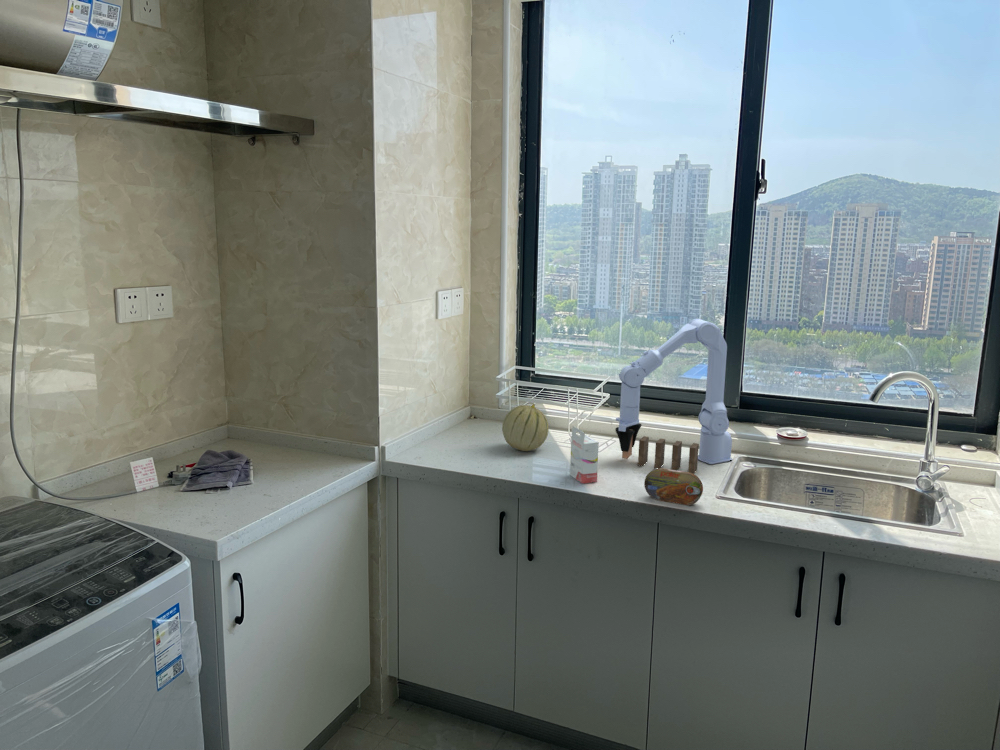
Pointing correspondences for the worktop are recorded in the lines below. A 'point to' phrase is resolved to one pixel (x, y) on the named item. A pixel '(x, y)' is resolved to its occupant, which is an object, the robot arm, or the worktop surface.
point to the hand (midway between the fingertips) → (627, 448)
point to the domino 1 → (628, 454)
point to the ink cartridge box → (583, 457)
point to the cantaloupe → (525, 428)
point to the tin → (673, 486)
